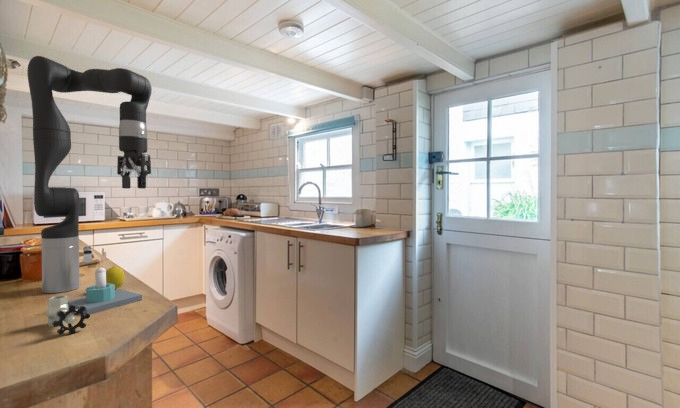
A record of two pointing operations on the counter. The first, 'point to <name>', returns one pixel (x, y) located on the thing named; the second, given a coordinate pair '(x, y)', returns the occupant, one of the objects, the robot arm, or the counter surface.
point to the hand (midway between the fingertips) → (133, 188)
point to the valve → (64, 314)
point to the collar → (100, 293)
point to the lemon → (115, 276)
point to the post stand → (119, 300)
